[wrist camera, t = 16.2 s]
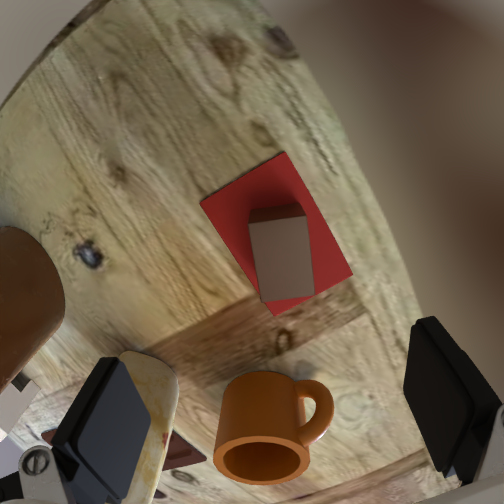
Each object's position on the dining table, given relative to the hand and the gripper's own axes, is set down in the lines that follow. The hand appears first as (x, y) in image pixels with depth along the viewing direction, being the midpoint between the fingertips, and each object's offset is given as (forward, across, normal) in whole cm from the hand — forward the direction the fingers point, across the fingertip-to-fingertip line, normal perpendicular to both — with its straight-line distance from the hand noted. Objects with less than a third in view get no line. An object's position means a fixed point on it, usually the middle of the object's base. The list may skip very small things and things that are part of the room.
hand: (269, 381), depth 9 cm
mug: (+18, +2, +19) cm, 26 cm away
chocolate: (+18, -1, +2) cm, 18 cm away
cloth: (+18, -1, +1) cm, 18 cm away
